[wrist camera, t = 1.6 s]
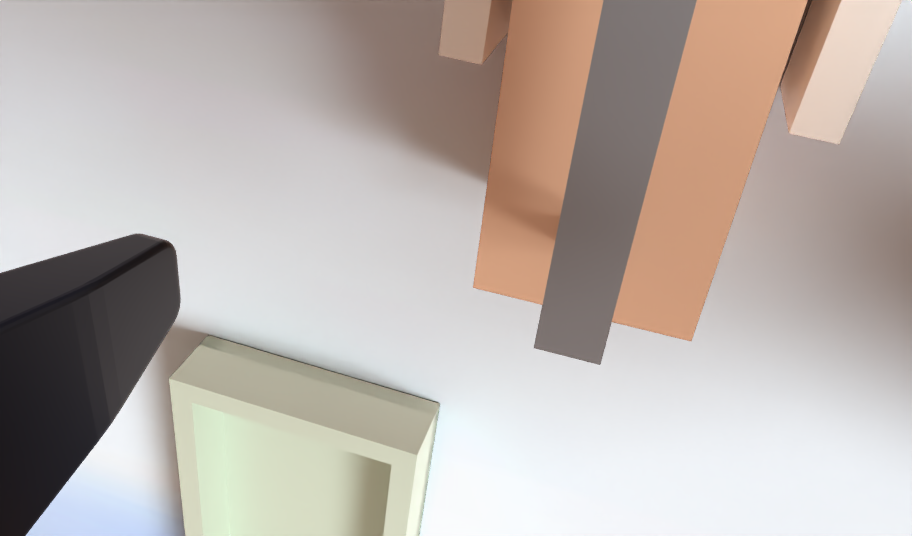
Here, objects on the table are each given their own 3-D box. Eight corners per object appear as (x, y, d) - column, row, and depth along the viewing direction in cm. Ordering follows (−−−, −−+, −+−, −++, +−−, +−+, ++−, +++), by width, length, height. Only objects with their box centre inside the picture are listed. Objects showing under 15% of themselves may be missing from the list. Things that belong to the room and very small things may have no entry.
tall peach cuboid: (830, -190, 16) (914, -156, 9) (696, 233, 22) (685, 457, 15) (585, -221, 17) (489, -211, 10) (517, 192, 22) (425, 386, 15)
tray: (440, 403, 27) (417, 455, 25) (404, 630, 35) (384, 683, 33) (208, 335, 29) (169, 378, 27) (223, 567, 36) (193, 614, 34)
